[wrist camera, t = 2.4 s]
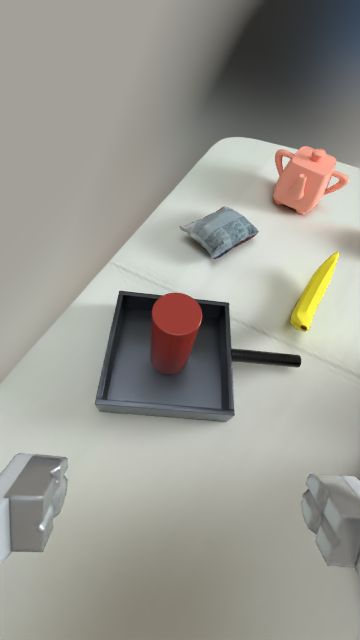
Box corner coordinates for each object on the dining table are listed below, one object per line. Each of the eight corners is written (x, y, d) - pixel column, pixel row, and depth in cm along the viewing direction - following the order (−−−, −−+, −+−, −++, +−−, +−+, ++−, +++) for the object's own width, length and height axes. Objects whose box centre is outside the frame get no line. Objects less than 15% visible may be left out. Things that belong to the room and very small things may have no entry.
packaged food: (178, 238, 48) (181, 215, 44) (224, 215, 53) (231, 192, 48) (211, 269, 45) (218, 248, 41) (256, 242, 50) (267, 220, 46)
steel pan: (99, 411, 31) (94, 403, 28) (121, 304, 39) (119, 290, 36) (297, 427, 33) (313, 421, 30) (280, 322, 41) (291, 309, 38)
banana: (329, 275, 47) (353, 249, 42) (291, 355, 38) (315, 334, 33) (314, 267, 48) (335, 240, 43) (273, 344, 39) (293, 322, 33)
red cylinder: (148, 373, 34) (149, 332, 25) (152, 338, 37) (154, 289, 28) (186, 376, 35) (202, 337, 25) (188, 342, 37) (202, 295, 28)
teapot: (258, 180, 61) (277, 130, 52) (306, 181, 62) (331, 133, 54) (277, 223, 53) (303, 173, 45) (331, 223, 55) (365, 175, 47)
